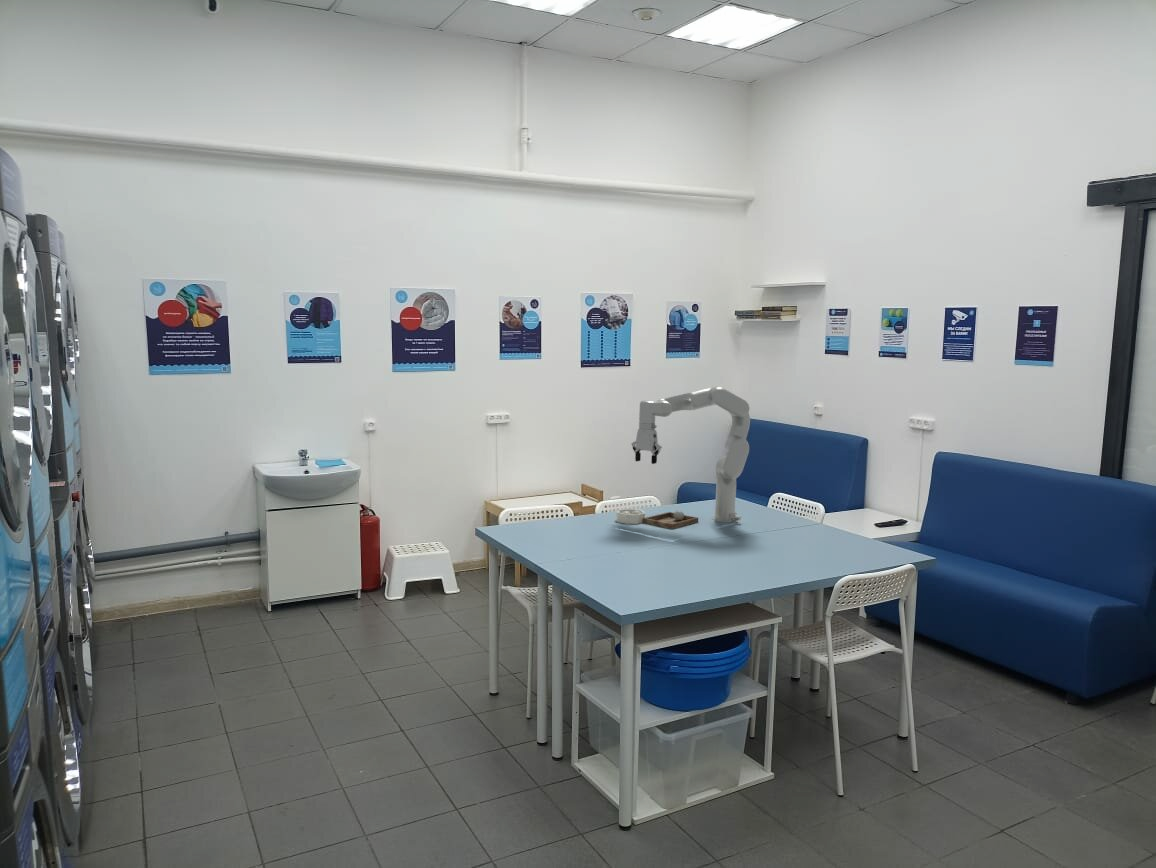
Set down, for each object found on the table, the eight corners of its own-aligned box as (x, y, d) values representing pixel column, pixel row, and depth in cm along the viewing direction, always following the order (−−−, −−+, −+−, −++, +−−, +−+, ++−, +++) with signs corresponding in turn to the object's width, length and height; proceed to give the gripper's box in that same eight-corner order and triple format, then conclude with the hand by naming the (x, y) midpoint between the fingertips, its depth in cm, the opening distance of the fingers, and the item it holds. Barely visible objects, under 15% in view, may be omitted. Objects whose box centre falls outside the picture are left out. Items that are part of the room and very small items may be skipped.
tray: (698, 523, 386) (698, 517, 385) (672, 530, 370) (672, 524, 370) (669, 517, 397) (669, 511, 397) (642, 524, 382) (642, 518, 381)
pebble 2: (685, 520, 388) (686, 510, 388) (679, 522, 385) (680, 511, 384) (677, 518, 392) (677, 508, 391) (671, 520, 388) (671, 510, 388)
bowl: (649, 522, 386) (649, 512, 386) (632, 526, 377) (632, 516, 376) (628, 517, 395) (628, 507, 394) (611, 521, 386) (611, 511, 385)
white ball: (639, 522, 388) (645, 516, 385) (632, 524, 384) (638, 517, 382) (633, 513, 390) (639, 507, 387) (627, 515, 386) (632, 509, 383)
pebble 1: (633, 511, 384) (624, 508, 382) (632, 521, 382) (623, 518, 380) (628, 514, 388) (619, 511, 386) (626, 523, 386) (618, 520, 384)
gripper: (666, 427, 383) (665, 463, 385) (637, 424, 394) (636, 459, 396) (656, 428, 377) (655, 465, 379) (627, 425, 389) (626, 460, 391)
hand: (645, 462), depth 388 cm, fingers open, 9 cm apart
